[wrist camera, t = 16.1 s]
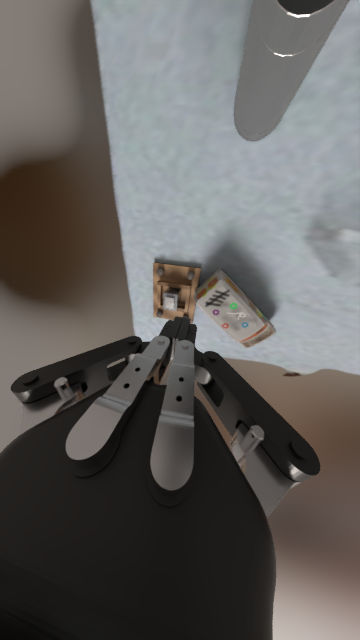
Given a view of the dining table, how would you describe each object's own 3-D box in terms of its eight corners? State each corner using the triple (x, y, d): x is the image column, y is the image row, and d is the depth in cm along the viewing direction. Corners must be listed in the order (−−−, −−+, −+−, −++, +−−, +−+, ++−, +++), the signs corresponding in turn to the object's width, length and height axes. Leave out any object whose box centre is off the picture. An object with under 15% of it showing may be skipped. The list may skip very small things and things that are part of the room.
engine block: (169, 286, 43) (162, 293, 37) (181, 288, 43) (177, 295, 37) (168, 301, 46) (162, 310, 40) (180, 303, 45) (175, 312, 39)
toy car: (242, 340, 49) (249, 360, 40) (193, 291, 44) (189, 303, 35) (271, 322, 44) (287, 341, 35) (219, 265, 39) (222, 271, 30)
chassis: (154, 262, 42) (150, 263, 39) (201, 268, 40) (200, 270, 37) (154, 315, 50) (151, 319, 48) (192, 321, 49) (191, 326, 46)
